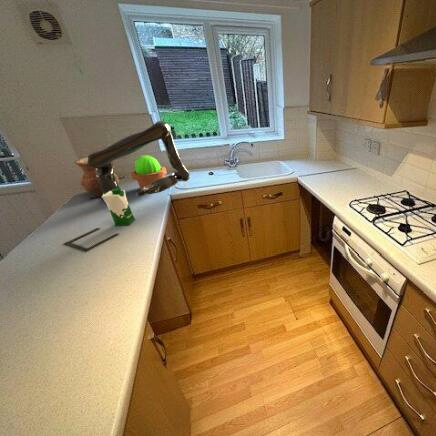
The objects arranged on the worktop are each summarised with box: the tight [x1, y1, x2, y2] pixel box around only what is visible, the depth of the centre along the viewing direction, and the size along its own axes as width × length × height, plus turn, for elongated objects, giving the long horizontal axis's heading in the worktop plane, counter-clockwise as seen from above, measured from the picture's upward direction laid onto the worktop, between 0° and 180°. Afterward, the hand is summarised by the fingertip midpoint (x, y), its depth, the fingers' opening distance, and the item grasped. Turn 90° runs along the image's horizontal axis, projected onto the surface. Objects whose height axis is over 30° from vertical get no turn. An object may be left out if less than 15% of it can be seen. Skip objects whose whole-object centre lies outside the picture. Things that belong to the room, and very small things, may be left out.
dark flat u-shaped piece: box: [63, 227, 119, 252], centre depth 120 cm, size 17×16×1 cm
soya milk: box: [100, 187, 136, 227], centre depth 129 cm, size 9×9×20 cm
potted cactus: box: [130, 154, 167, 190], centre depth 175 cm, size 22×22×25 cm
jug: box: [74, 156, 120, 197], centre depth 170 cm, size 22×21×25 cm
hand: (137, 194), depth 138 cm, fingers closed
